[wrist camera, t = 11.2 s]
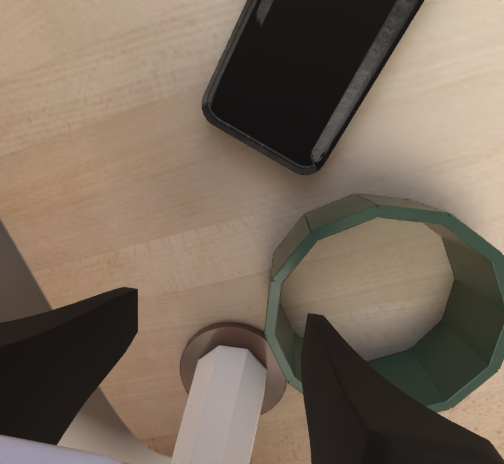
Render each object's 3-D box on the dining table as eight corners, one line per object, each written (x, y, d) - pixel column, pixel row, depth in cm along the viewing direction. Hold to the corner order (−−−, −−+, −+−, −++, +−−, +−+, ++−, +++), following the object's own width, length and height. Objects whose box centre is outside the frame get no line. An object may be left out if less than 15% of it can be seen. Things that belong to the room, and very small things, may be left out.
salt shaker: (184, 384, 22) (92, 596, 11) (214, 330, 21) (140, 513, 10) (248, 417, 22) (214, 656, 12) (282, 365, 21) (279, 582, 10)
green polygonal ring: (433, 378, 20) (474, 438, 16) (261, 352, 21) (255, 401, 17) (486, 207, 17) (554, 224, 13) (281, 185, 18) (281, 193, 14)
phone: (496, -117, 13) (312, 182, 17) (479, -96, 14) (311, 181, 18) (342, -215, 13) (192, 113, 16) (337, -185, 14) (198, 116, 18)
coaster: (279, 421, 23) (279, 427, 22) (180, 403, 23) (177, 410, 23) (293, 331, 21) (294, 336, 20) (184, 315, 21) (181, 319, 21)
